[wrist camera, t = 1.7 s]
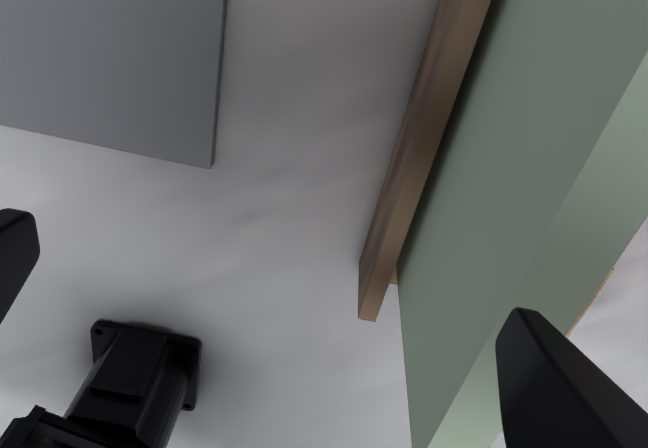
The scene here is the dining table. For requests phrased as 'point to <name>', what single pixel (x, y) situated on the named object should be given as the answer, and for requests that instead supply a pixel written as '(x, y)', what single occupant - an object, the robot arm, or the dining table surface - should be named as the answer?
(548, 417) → the robot arm
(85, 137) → the mat
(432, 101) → the rack
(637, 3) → the green rectangular slab
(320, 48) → the dining table surface
